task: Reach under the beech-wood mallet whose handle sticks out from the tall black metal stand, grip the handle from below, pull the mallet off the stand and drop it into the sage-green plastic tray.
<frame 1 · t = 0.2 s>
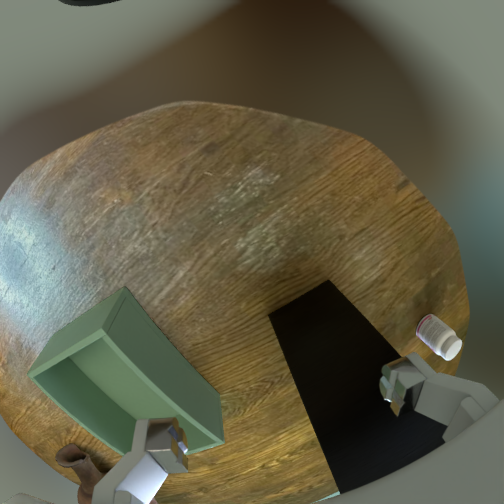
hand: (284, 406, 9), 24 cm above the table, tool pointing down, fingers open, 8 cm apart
tray: (134, 369, 36), on the table
jug: (110, 470, 44), on the table
stand: (311, 321, 37), on the table
pill bottle: (424, 324, 42), on the table
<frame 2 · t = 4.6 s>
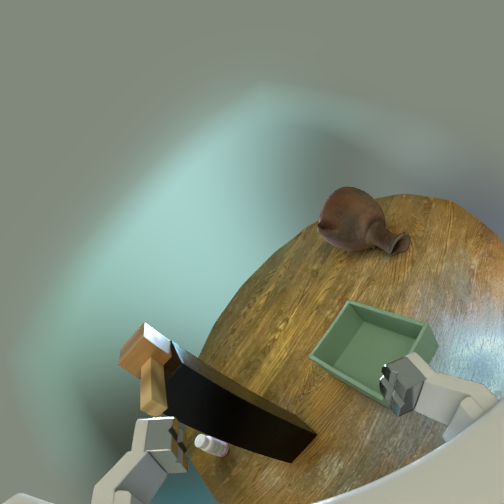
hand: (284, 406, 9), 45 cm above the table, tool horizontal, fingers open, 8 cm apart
mallet: (159, 381, 37), point 36 cm above the table, touching stand
tray: (381, 362, 53), on the table
jug: (376, 245, 81), on the table
stand: (293, 438, 53), on the table
pill bottle: (223, 450, 63), on the table
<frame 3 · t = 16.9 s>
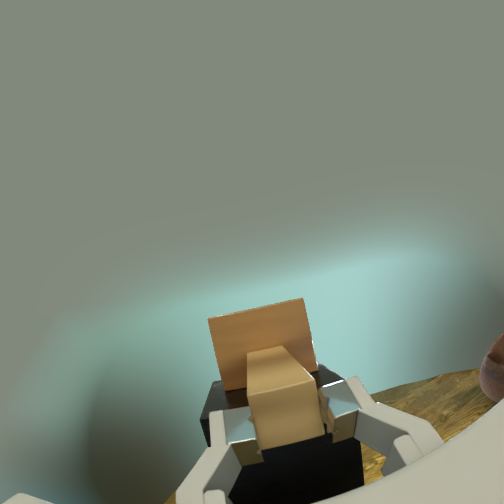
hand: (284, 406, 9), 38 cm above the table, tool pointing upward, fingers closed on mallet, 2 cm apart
mallet: (276, 394, 16), point 36 cm above the table, touching gripper, stand
when the fingers open (17 cm above the table, at t = 30.6 s): mallet drops 14 cm, resting on tray.
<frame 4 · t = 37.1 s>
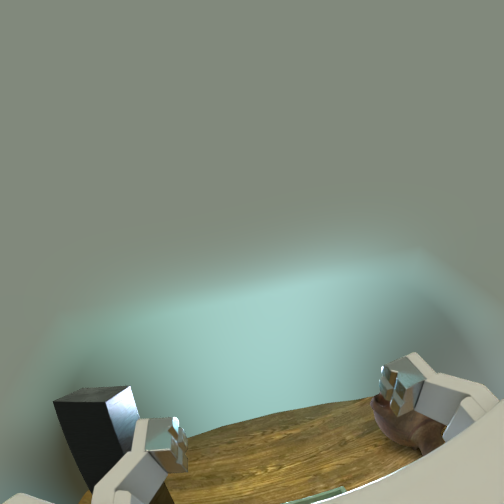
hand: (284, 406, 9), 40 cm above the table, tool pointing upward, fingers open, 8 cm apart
jug: (420, 447, 46), on the table
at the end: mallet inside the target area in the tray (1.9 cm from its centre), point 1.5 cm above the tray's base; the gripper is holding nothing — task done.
